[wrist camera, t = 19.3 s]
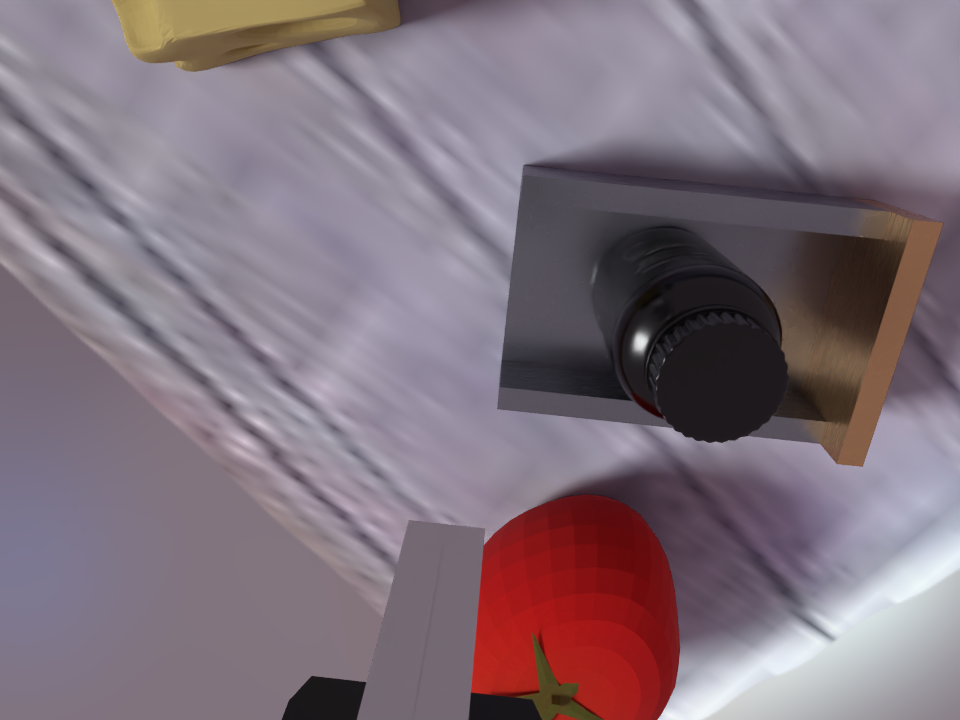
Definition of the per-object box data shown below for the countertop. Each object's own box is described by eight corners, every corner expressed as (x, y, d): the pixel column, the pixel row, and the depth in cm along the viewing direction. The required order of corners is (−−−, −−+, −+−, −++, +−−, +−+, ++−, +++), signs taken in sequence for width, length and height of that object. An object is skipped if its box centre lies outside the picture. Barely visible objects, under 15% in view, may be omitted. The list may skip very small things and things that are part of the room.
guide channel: (499, 378, 39) (495, 427, 33) (523, 165, 35) (523, 180, 29) (813, 411, 39) (862, 466, 33) (875, 200, 34) (943, 223, 29)
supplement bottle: (571, 331, 37) (594, 435, 26) (620, 206, 35) (667, 263, 24) (693, 371, 38) (766, 490, 27) (750, 250, 35) (856, 325, 24)
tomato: (712, 511, 41) (778, 659, 31) (597, 671, 46) (619, 847, 36) (523, 424, 40) (522, 548, 29) (425, 599, 45) (394, 759, 34)
